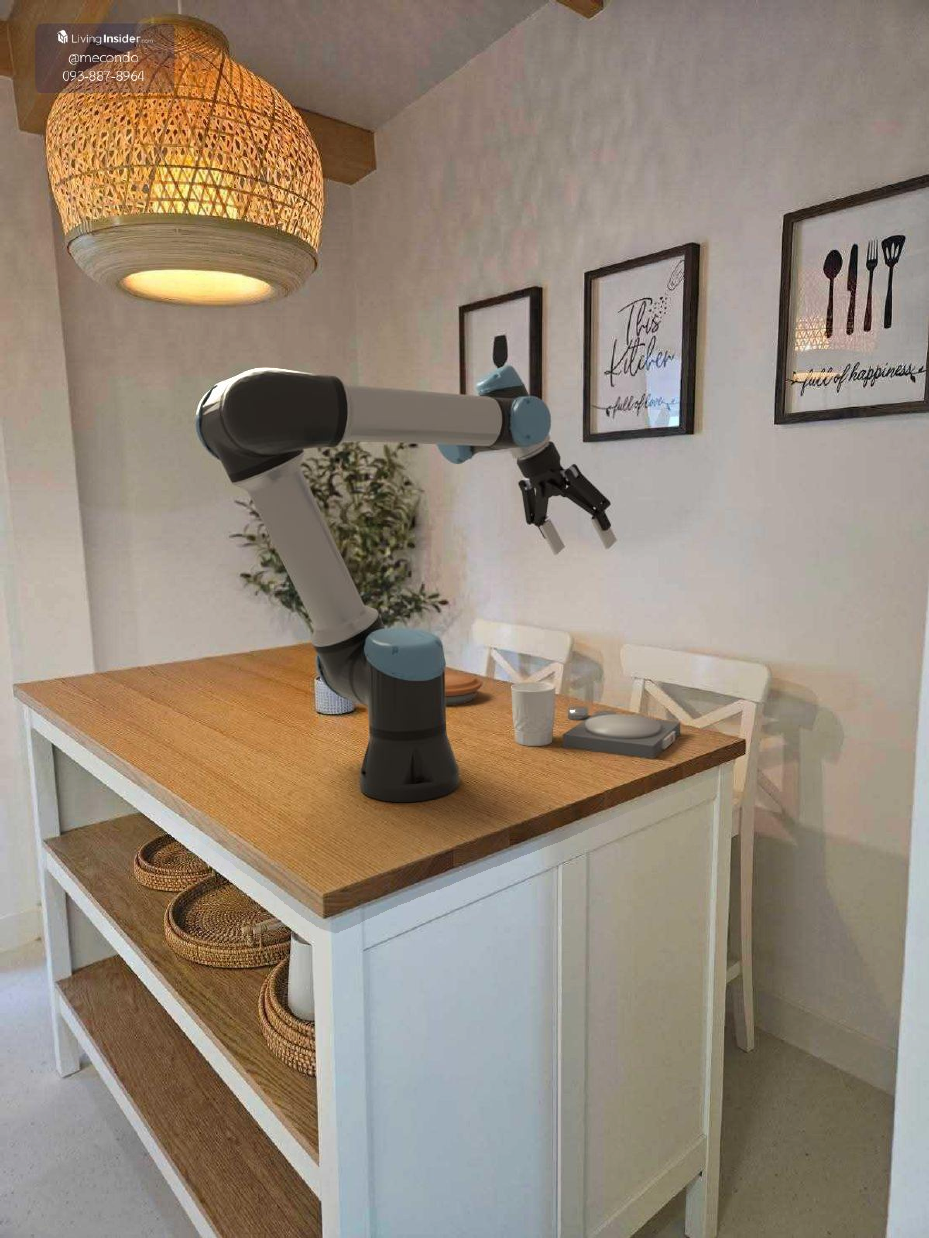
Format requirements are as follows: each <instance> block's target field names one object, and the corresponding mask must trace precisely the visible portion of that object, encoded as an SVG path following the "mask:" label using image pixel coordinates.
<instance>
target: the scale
mask: <svg viewBox="0 0 929 1238" xmlns="http://www.w3.org/2000/svg"><path fill="white" fill-rule="evenodd" d="M680 735H681V722H680V721H671V720H665V719H664V720H662V719H655V718H651V717H647V716H642V715H636V714H626V713H625V714H624V713H623V714H622V713H621V714H618V713H616V714H615V715H610V714H601V713H596V714H595V713H594V714H593V715H591V716H588V719H586V720H582V721H581V722H580V723H578V724H577V725H575V726H574V727H572V728H571V729H569V730H568V731H566V732H564V733H562V748H570V749H577V750H584V751H585V750H586V751H590V752H591V751H592V752H598V753H606V754H608V753H609V754H614V755H621V756H628V757H634V756H637V757H636V758H642V757H645V758H644V759H649V758H651V759H650V760H654V759H655V758H656V757H657V756H658V755H659V754H660V753H661V752H662V751H663V750H666V749H667V748H668V747H669V746H670V745H672V744H673V743H674V742H675V741H676V739H677V738H678V737H679V736H680ZM658 753H659V754H658ZM655 756H656V757H655ZM654 757H655V758H654ZM653 758H654V759H653Z"/></svg>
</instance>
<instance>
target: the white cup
mask: <svg viewBox="0 0 929 1238" xmlns="http://www.w3.org/2000/svg"><path fill="white" fill-rule="evenodd" d="M510 692H511V693H510V695H511V710H512V712H511V713H512V722H513V723H512V724H513V727H514V729H513V731H514V742H516V744H518V745H521V746H525V747H542V746H547V745H550V744H551V743H553V741H554V727H555V717H556V716H555V713H556V712H555V711H556V684H553V683H550V682H545V681H523V682H517V683H514V684H512V685H511V686H510Z"/></svg>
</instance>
